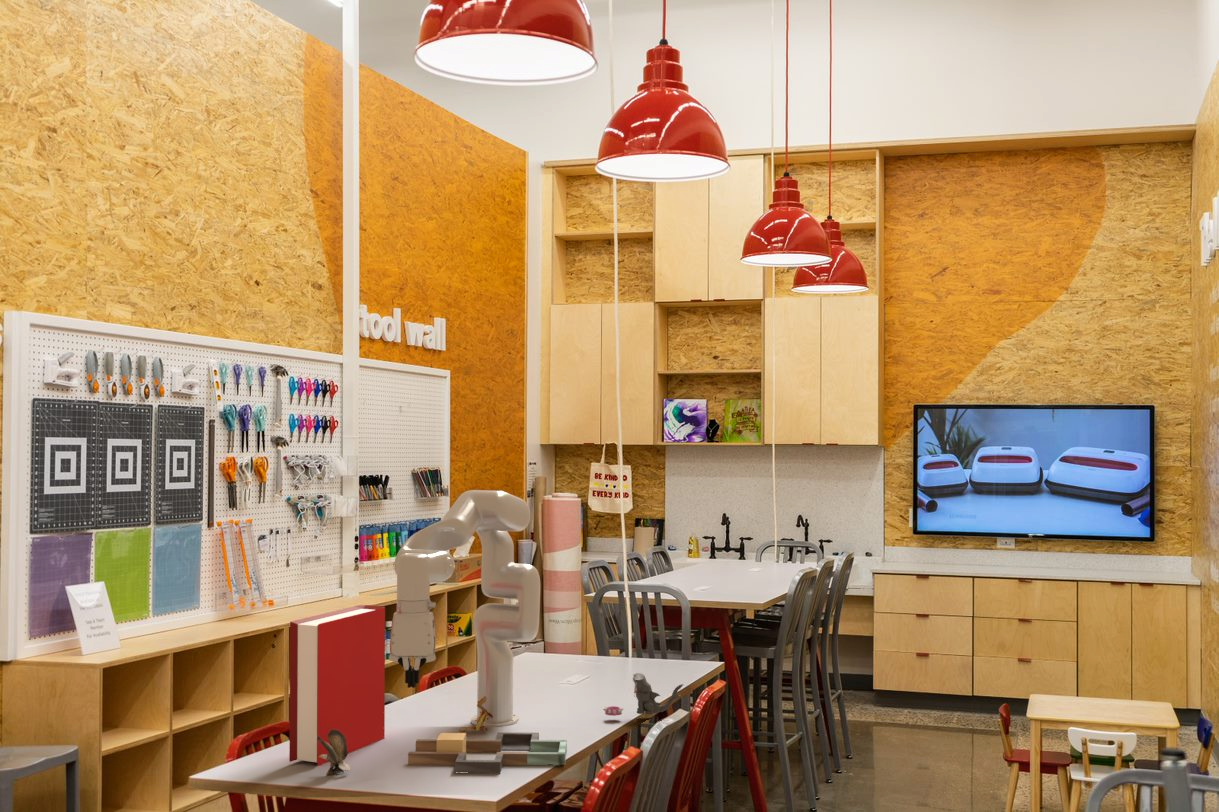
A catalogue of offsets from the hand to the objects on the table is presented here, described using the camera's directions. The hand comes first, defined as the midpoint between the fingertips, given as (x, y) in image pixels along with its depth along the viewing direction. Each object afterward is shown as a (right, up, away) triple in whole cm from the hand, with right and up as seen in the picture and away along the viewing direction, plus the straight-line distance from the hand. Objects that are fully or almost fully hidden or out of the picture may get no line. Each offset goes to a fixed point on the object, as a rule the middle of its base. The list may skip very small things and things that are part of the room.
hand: (412, 686), depth 277 cm
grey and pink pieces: (+54, -17, +42) cm, 71 cm away
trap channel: (+18, -17, 0) cm, 24 cm away
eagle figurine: (-15, -17, -13) cm, 26 cm away
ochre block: (+9, -17, 0) cm, 19 cm away
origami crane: (+13, -18, +19) cm, 29 cm away
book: (-18, -17, +7) cm, 26 cm away
